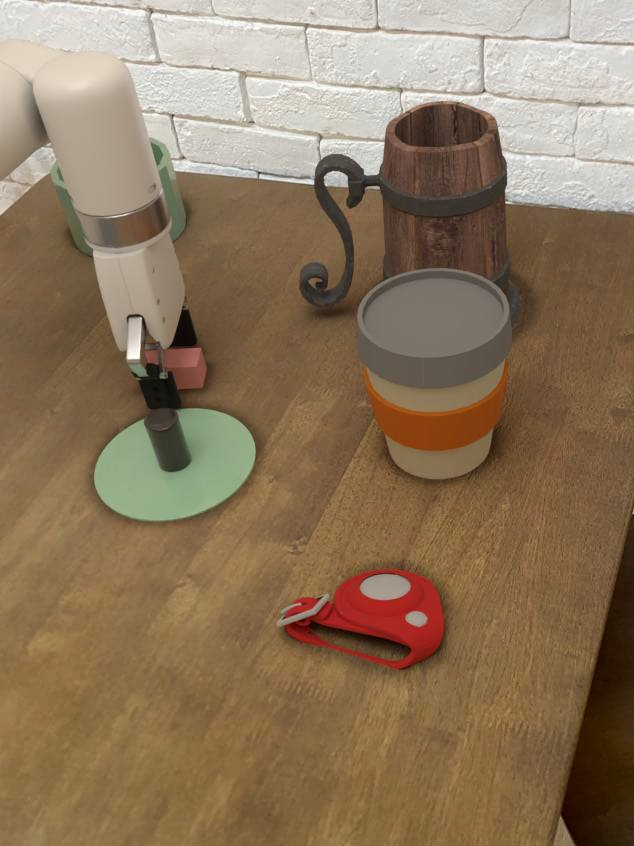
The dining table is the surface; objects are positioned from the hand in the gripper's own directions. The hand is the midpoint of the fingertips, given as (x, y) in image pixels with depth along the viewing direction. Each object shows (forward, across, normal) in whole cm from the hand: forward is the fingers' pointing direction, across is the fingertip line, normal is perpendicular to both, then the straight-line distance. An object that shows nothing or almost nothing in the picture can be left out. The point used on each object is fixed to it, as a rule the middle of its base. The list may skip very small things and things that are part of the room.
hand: (174, 374), depth 92 cm
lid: (+1, +12, +2) cm, 12 cm away
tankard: (+2, -10, +24) cm, 26 cm away
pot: (+1, -31, -11) cm, 33 cm away
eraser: (+1, 0, 0) cm, 2 cm away
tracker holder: (+2, +30, +20) cm, 36 cm away
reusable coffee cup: (+2, +11, +26) cm, 28 cm away
